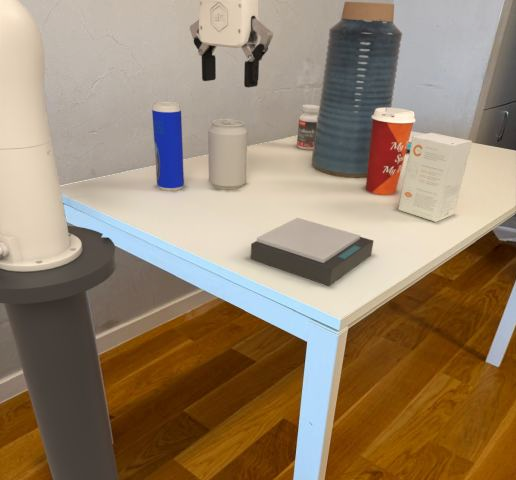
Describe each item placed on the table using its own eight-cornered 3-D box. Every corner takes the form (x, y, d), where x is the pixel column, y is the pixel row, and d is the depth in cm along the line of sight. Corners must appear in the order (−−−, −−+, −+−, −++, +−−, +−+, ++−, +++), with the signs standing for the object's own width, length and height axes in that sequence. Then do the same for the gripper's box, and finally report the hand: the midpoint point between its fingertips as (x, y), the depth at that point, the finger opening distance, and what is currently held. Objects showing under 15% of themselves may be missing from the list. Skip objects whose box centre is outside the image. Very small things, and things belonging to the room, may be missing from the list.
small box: (453, 215, 92) (473, 140, 85) (435, 222, 88) (454, 145, 81) (415, 203, 97) (431, 131, 90) (396, 210, 93) (411, 135, 86)
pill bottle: (293, 148, 130) (296, 106, 124) (300, 143, 134) (304, 103, 129) (314, 151, 128) (319, 108, 123) (321, 146, 132) (325, 105, 127)
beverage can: (160, 182, 101) (155, 100, 92) (185, 184, 101) (183, 102, 92) (154, 190, 96) (148, 105, 88) (181, 192, 96) (178, 106, 88)
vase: (315, 177, 109) (334, 0, 91) (307, 157, 122) (322, 0, 104) (390, 179, 109) (423, 5, 92) (373, 160, 123) (399, 5, 105)
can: (220, 192, 97) (220, 126, 90) (202, 182, 102) (200, 118, 95) (253, 187, 101) (255, 123, 94) (233, 177, 106) (234, 116, 99)
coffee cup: (393, 199, 98) (409, 116, 90) (354, 191, 102) (366, 110, 93) (406, 189, 104) (422, 110, 96) (369, 181, 108) (381, 105, 99)
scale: (329, 286, 67) (332, 265, 65) (250, 259, 73) (251, 239, 71) (371, 255, 76) (374, 236, 74) (297, 233, 82) (299, 215, 80)
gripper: (174, -37, 83) (180, 80, 93) (259, -36, 75) (256, 91, 85) (204, -34, 88) (206, 76, 98) (286, -33, 80) (280, 87, 90)
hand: (229, 83), depth 91 cm, fingers open, 9 cm apart
